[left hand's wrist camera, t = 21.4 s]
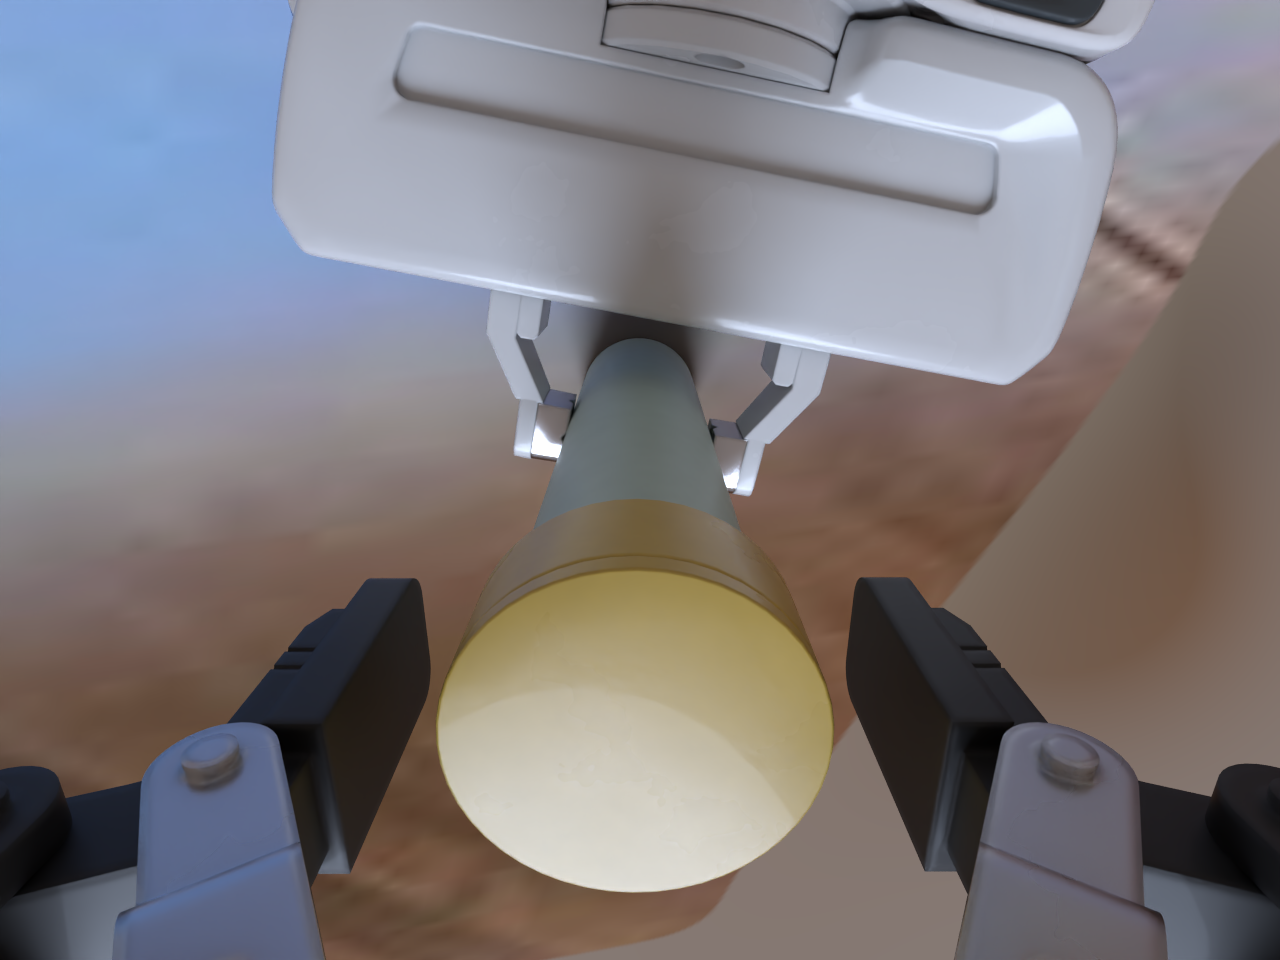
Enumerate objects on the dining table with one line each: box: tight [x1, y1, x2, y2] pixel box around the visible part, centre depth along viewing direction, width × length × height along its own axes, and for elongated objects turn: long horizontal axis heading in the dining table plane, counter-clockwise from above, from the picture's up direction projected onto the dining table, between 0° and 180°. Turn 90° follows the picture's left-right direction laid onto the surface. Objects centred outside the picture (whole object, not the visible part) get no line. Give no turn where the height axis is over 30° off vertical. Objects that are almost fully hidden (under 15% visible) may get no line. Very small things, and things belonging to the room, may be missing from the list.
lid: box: [436, 499, 834, 893], centre depth 10 cm, size 5×5×2 cm
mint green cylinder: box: [533, 338, 741, 532], centre depth 18 cm, size 4×4×18 cm
